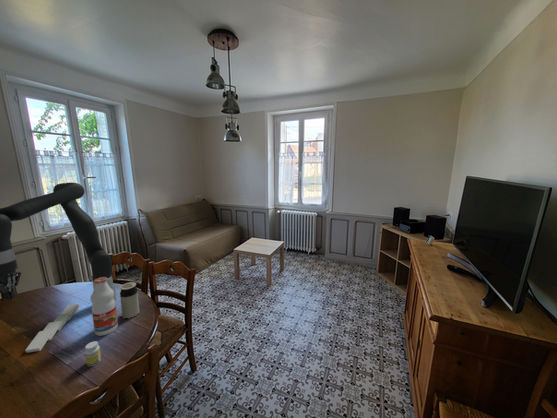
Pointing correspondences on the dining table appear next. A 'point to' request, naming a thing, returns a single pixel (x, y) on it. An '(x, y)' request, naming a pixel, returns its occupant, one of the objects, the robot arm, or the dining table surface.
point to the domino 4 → (62, 319)
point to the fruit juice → (103, 308)
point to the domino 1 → (39, 341)
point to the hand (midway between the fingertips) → (10, 298)
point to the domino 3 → (70, 310)
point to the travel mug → (129, 300)
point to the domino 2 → (53, 328)
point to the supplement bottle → (92, 353)
